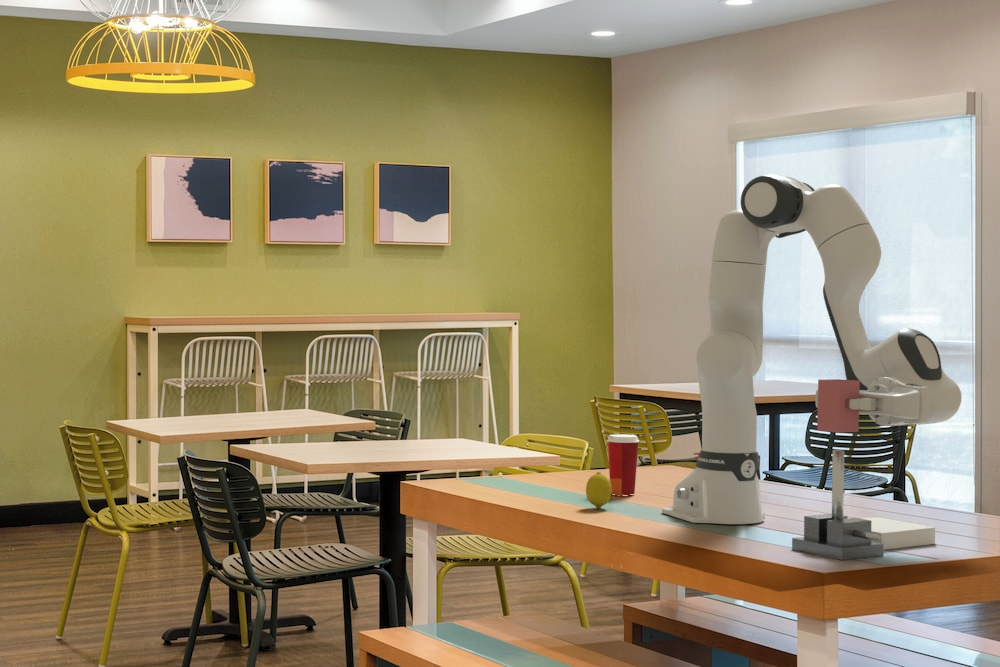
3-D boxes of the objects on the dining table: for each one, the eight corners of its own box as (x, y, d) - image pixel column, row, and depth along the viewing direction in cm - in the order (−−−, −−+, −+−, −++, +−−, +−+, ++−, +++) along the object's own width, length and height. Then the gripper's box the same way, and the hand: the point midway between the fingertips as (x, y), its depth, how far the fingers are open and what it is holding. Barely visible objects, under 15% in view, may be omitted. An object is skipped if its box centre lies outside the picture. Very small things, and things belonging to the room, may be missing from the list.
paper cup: (639, 493, 293) (640, 434, 293) (637, 497, 286) (638, 437, 286) (607, 492, 295) (607, 433, 295) (604, 496, 287) (604, 436, 287)
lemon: (601, 511, 263) (601, 474, 263) (580, 508, 267) (581, 471, 267) (616, 508, 267) (616, 472, 267) (596, 506, 271) (596, 469, 271)
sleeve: (817, 430, 219) (818, 379, 219) (837, 429, 221) (838, 379, 221) (838, 432, 214) (839, 381, 214) (858, 431, 217) (859, 380, 217)
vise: (792, 549, 220) (793, 448, 220) (832, 544, 226) (833, 446, 225) (858, 563, 207) (859, 457, 207) (899, 558, 212) (900, 454, 212)
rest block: (824, 537, 233) (824, 522, 233) (876, 532, 240) (876, 517, 240) (881, 549, 221) (881, 533, 221) (934, 543, 228) (935, 527, 228)
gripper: (847, 381, 233) (793, 381, 226) (934, 387, 216) (879, 388, 209) (846, 414, 233) (792, 415, 226) (934, 423, 216) (878, 425, 209)
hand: (834, 402), depth 217 cm, fingers closed on sleeve, 5 cm apart
